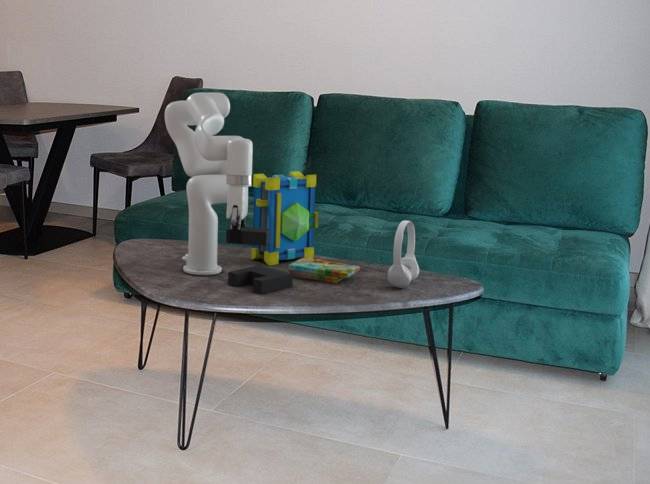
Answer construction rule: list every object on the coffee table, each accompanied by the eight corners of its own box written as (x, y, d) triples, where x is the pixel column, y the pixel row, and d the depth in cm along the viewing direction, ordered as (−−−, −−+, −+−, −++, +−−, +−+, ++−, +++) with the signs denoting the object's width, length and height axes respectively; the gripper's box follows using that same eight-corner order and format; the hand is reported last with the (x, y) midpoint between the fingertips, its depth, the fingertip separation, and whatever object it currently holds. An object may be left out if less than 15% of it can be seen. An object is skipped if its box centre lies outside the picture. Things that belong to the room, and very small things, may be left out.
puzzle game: (301, 255, 271) (359, 263, 262) (300, 269, 272) (359, 278, 262) (287, 262, 261) (348, 271, 252) (287, 277, 262) (347, 286, 252)
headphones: (383, 289, 249) (386, 224, 247) (398, 276, 265) (401, 215, 263) (407, 293, 245) (409, 227, 244) (421, 279, 261) (423, 217, 260)
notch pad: (227, 284, 252) (228, 271, 251) (259, 277, 261) (259, 264, 261) (261, 294, 241) (261, 280, 241) (292, 286, 251) (293, 273, 250)
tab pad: (225, 243, 241) (226, 229, 241) (229, 239, 247) (230, 226, 246) (266, 246, 238) (266, 232, 238) (269, 241, 244) (269, 228, 243)
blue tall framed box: (320, 260, 286) (322, 175, 283) (267, 267, 274) (270, 178, 271) (294, 251, 298) (296, 170, 295) (242, 258, 286) (244, 173, 283)
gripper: (232, 176, 251) (230, 234, 252) (220, 183, 234) (219, 245, 236) (256, 177, 249) (254, 235, 250) (246, 185, 232) (245, 247, 234)
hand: (237, 239), depth 243 cm, fingers closed on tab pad, 6 cm apart
